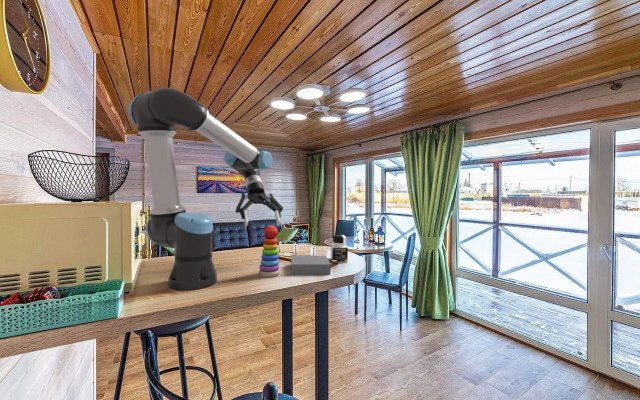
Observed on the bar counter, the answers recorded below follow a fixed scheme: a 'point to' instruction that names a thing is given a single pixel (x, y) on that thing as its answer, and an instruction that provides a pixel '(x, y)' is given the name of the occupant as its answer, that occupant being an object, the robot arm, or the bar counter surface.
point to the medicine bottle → (339, 249)
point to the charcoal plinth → (310, 265)
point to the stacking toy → (270, 254)
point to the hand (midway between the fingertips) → (263, 224)
